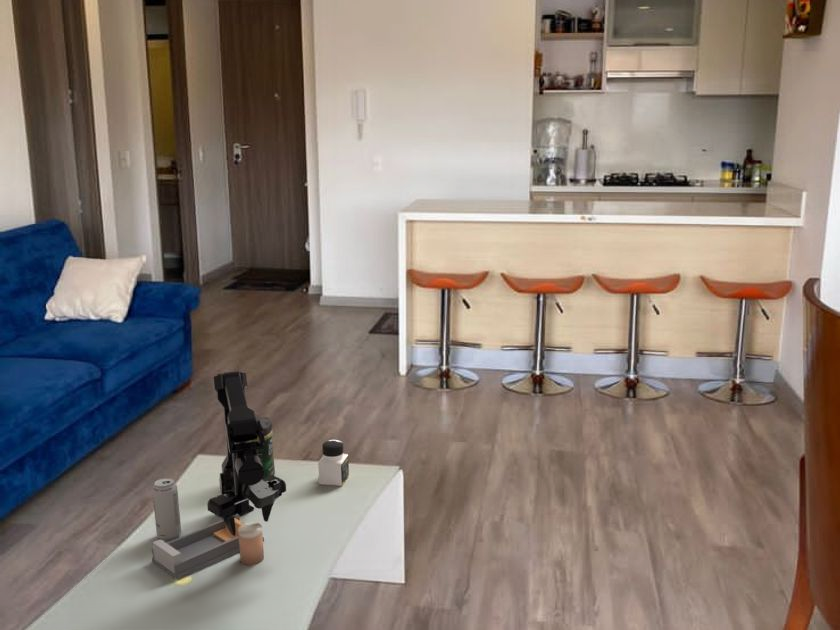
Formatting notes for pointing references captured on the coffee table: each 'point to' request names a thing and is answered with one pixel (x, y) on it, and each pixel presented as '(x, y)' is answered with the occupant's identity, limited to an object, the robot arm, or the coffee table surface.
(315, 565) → the coffee table surface
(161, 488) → the energy drink can
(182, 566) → the lane
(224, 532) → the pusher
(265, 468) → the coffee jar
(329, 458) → the medicine bottle
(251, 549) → the jar
